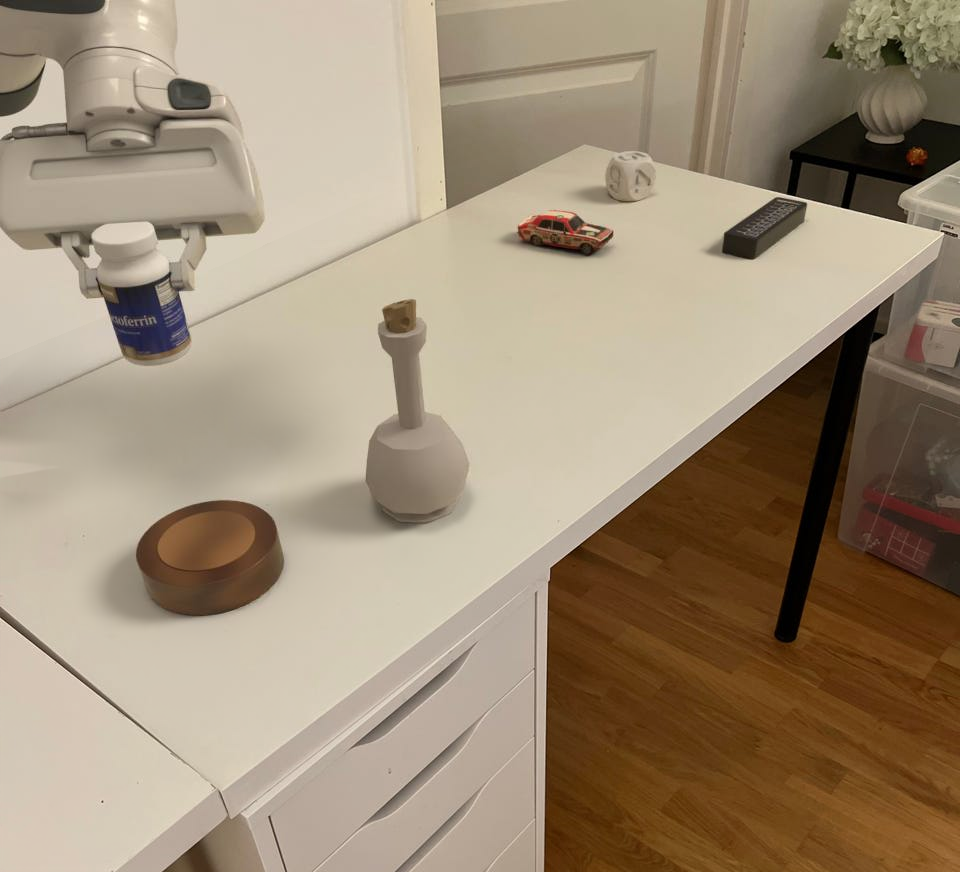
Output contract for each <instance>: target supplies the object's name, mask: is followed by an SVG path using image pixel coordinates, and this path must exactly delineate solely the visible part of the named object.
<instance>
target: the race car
mask: <svg viewBox="0 0 960 872" xmlns="http://www.w3.org/2000/svg"><path fill="white" fill-rule="evenodd" d="M517 235H518V237H519V238H521V240H523V241H527V242H531V243H532V244H533V245H535V246H536V247H542V246H543V245H548V246H553V247H559V248H565V249H570V250H576V251H577V250H581V252H582V254H583V255H585V256H587V257H588V256H591V255H592V254H593V253H594V252H595V251H597V250H599V249H601V248H602V247H604V246H605V245H606V244H608V243H609V242H610V240H612V239H613V237H614V229H613V228H609V227H607V226H605V225H600V224H595V223H591V222H590V223H589V222H587V221H584V219H582V218H581V217H580V216H579V215H578V214H577V213H575V212H572V211H566V210H556V209H553V210H552V209H551V210H545V211H544V212H543V213H541V214H538V215H533V214H529V215H528V216H527V217H525V218H524V219H523V220H521V221H520V222H519V223H518V224H517Z"/></svg>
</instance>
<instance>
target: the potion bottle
mask: <svg viewBox="0 0 960 872" xmlns="http://www.w3.org/2000/svg"><path fill="white" fill-rule="evenodd" d="M381 311H382V316H383V320H382V321H381V322H380V323H377V324H378V325H377V334H378V338H379V341H380V346H381V349H383V351H384V352H386V354H388V356H389V357H390V358H391V365H392V374H393V380H394V391H395V397H396V406H397V407H396V408H397V413H394V414H393V415H391V416H389V417H388V418H386V419H385V420H384V421H382V422H380V423H379V424H378V425H377V426H376V427H375V429H374V431H373V433H372V435H371V437H370V439H369V441H368V448H367V456H366V464H365V465H366V466H365V467H366V468H365V477H364V478H365V479H364V481H365V484H366V486H367V488H368V490H369V492H370V493H371V497H372V499H373V500H374V501H375V502H377V503H379V504H380V505H381V511H382V512H383V513H385V514H386V515H388V516H390V517H391V518H393V519H394V520H396V521H397V522H399V523H415V524H416V523H419V524H420V523H421V524H428V523H431V522H433V521H436V520H437V519H440V518H444V517H445V516H447V515H450V514H452V512H453V511H454V509H455V507H456V506H457V503H458V502H459V500H460V498H461V493H462V491H463V490H464V488H465V486H466V483H467V477H468V473H469V469H470V462H469V461H470V460H469V458H468V456H467V455H468V454H467V453H466V450H465V446H464V444H463V442H462V441H461V440H460V438H459V437H458V436H457V435H456V434H455V432H454V431H453V430H452V428H451V427H450V425H449V424H448V423H447V422H446V420H445V419H444V417H443V416H442V415H439V414H436V413H431V412H427V411H425V410H426V409H425V402H424V389H423V379H422V372H421V361H420V352H421V351H422V349H423V348H424V345H425V344H426V342H427V330H428V329H427V327H428V325H427V323H426V322H425V321H424V320H423V318H421V317H417V300H416V299H414V298H410V299H403V300H400V301H396V302H393V303H390V304H388V305H386V306H384V307H383V308H382V309H381Z"/></svg>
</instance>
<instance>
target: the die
mask: <svg viewBox="0 0 960 872" xmlns="http://www.w3.org/2000/svg"><path fill="white" fill-rule="evenodd" d="M604 177H605V187H606V189H607V190H608V193H609V195H610V196H611V197H612V198H613V199H614V200H617V201H621V202H639V201H642V200H644V199H645V198H647V197H648V195H649V194H650V193H651V192H652V190H653V188H654V186H655V183H656V179H657V172H656V166H655V163H654V160H653V159H652V157H651V156H650V155H649V154H648V153H646V152H644V151H637V150H627V151H622V152H618V153H616V154H615V155H613V157H612V158H611V159H610V161H609V163H607V166H606V170H605V175H604Z"/></svg>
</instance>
